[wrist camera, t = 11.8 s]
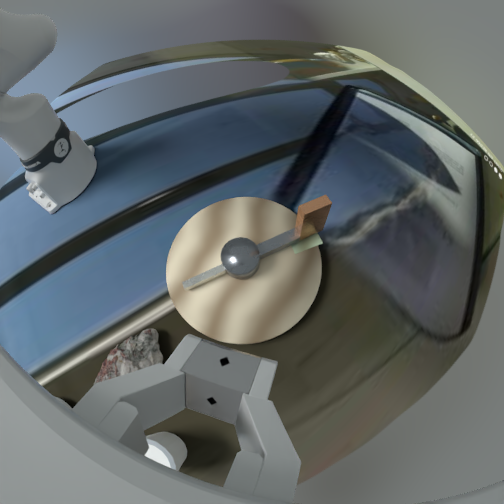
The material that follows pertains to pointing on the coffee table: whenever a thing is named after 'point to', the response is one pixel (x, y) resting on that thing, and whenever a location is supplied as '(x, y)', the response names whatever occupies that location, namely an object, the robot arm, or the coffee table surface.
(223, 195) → the coffee table surface
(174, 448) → the white cylinder
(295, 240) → the grey pivot bar
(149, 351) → the mineral rock
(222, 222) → the stand
